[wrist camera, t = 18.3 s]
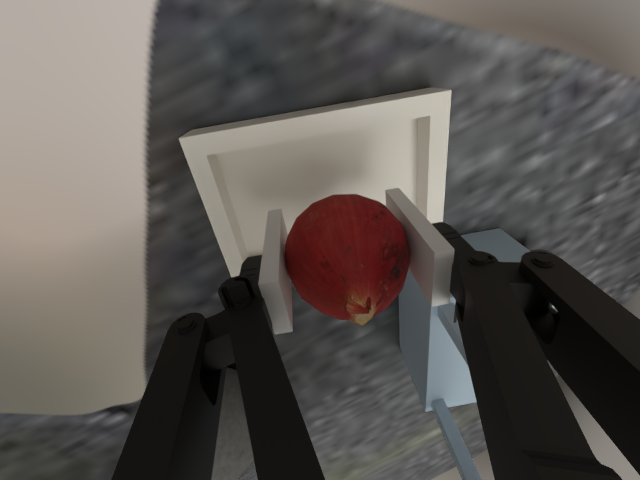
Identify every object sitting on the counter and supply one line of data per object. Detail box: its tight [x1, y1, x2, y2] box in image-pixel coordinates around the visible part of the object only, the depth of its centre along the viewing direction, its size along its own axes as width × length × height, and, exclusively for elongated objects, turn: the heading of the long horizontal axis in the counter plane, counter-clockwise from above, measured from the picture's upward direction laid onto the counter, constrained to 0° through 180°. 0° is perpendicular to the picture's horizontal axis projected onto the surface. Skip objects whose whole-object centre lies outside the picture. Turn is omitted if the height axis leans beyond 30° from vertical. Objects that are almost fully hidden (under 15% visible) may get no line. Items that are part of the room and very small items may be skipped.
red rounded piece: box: [285, 194, 410, 326], centre depth 14 cm, size 6×6×8 cm
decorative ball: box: [211, 368, 254, 480], centre depth 28 cm, size 10×10×10 cm
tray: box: [179, 87, 451, 278], centre depth 21 cm, size 16×11×3 cm
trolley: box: [399, 228, 558, 480], centre depth 22 cm, size 12×14×18 cm
